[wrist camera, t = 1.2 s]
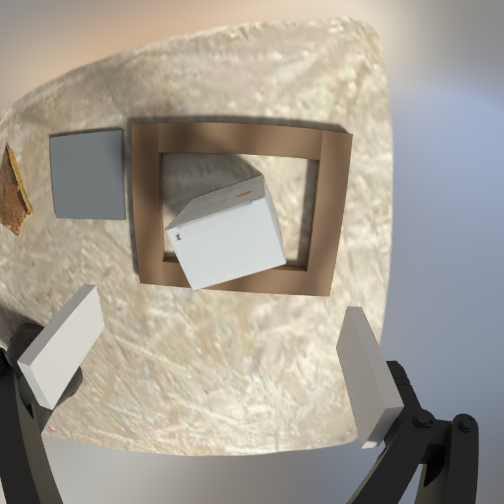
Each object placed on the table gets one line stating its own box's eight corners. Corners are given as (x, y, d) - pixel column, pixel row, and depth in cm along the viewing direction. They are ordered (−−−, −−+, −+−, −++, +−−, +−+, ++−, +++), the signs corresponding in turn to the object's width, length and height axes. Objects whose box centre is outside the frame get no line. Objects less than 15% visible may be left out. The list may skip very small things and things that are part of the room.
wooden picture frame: (143, 278, 36) (140, 283, 35) (136, 124, 29) (131, 124, 28) (327, 291, 36) (329, 296, 35) (349, 133, 29) (352, 134, 28)
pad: (58, 216, 33) (56, 218, 33) (52, 137, 29) (49, 137, 29) (126, 218, 33) (124, 220, 33) (123, 129, 29) (121, 130, 29)
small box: (210, 244, 34) (190, 293, 24) (191, 197, 32) (161, 230, 22) (280, 223, 33) (288, 266, 23) (264, 172, 31) (265, 195, 21)
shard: (13, 144, 30) (4, 146, 28) (48, 166, 31) (40, 168, 29) (-2, 212, 34) (-9, 216, 32) (30, 236, 35) (23, 241, 33)
